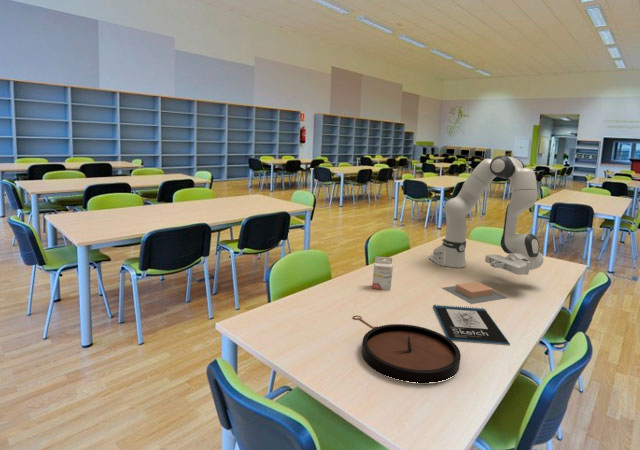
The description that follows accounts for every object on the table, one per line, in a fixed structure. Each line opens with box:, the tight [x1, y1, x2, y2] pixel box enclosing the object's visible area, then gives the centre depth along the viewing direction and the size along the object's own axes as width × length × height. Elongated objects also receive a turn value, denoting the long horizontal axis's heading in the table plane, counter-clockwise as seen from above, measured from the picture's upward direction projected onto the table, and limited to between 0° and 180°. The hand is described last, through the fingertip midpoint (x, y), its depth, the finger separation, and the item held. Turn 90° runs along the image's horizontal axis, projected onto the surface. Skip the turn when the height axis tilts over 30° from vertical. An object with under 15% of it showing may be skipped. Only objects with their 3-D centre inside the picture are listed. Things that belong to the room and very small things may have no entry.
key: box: [352, 315, 379, 330], centre depth 158 cm, size 6×1×15 cm
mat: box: [441, 285, 509, 305], centre depth 193 cm, size 20×22×1 cm
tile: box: [455, 281, 494, 298], centre depth 192 cm, size 10×3×13 cm
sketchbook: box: [432, 304, 511, 346], centre depth 161 cm, size 22×30×2 cm
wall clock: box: [361, 323, 462, 383], centre depth 136 cm, size 31×4×31 cm
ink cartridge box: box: [371, 255, 394, 291], centre depth 194 cm, size 9×5×15 cm, turn 84°
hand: (492, 265), depth 194 cm, fingers closed
